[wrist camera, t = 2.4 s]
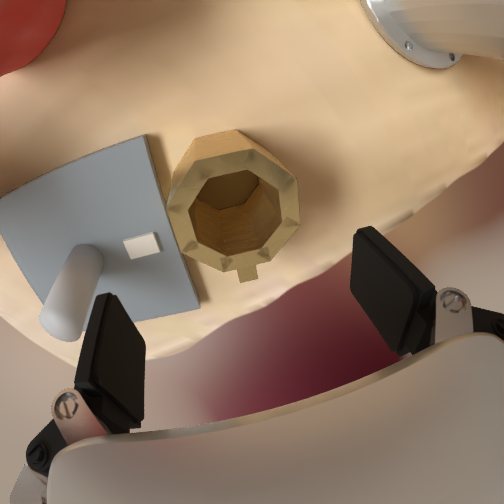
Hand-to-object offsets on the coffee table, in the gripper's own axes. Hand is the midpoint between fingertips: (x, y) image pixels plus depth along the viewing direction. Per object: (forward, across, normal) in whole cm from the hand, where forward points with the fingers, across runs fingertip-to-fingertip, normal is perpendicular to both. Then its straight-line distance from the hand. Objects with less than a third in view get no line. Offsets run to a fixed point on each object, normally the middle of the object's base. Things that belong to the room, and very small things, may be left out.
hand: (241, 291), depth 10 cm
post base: (+11, +11, +2) cm, 16 cm away
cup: (+11, -1, 0) cm, 11 cm away
